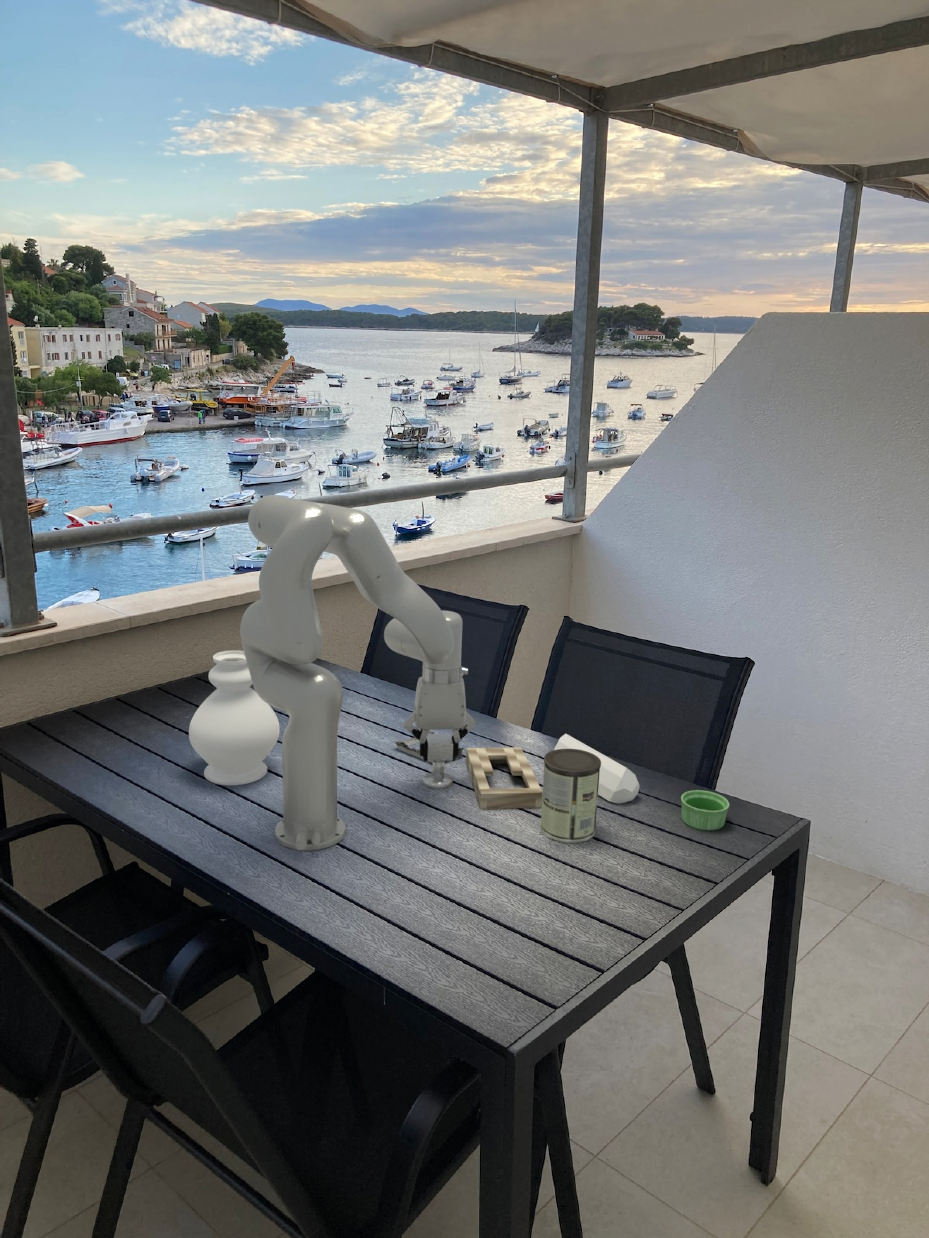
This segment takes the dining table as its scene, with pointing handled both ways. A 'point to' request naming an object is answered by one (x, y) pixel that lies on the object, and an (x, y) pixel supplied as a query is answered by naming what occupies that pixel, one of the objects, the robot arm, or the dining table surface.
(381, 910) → the dining table surface
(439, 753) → the keyhole peg
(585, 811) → the coffee can
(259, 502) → the robot arm
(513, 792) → the keyhole plate
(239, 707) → the decorative vase
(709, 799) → the ramekin
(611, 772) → the crystal
